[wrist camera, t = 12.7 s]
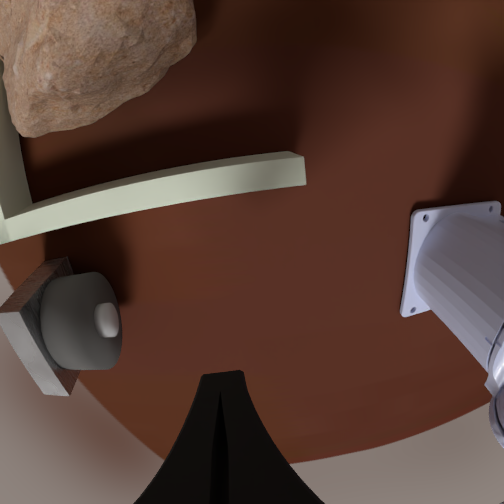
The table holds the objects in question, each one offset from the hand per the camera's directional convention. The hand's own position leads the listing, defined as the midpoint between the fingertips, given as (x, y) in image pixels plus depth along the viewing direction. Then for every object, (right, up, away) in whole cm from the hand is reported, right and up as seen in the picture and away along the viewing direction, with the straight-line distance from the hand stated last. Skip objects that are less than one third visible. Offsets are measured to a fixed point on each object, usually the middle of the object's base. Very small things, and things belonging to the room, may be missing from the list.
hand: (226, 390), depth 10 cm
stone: (-8, +16, +2) cm, 18 cm away
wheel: (-10, +2, +7) cm, 12 cm away
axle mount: (-11, +2, +7) cm, 13 cm away
